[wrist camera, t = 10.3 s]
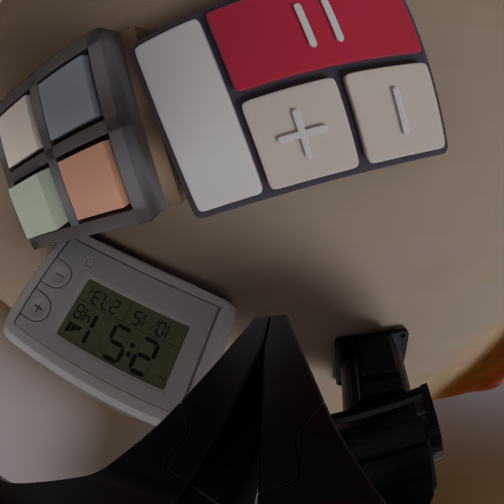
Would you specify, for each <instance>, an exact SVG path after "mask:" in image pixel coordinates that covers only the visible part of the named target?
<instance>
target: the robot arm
mask: <svg viewBox="0 0 504 504" xmlns="http://www.w3.org/2000/svg"><path fill="white" fill-rule="evenodd" d="M408 335H409V334H408V331H407V329H405V328H402V329H396V330H390V331H384V332H378V333H371V334H364V335H357V336H349V337H341V338H337V339H336V340H335V342H334V343H335V361H336V382H337V385H342V398H343V411H342V412H338V413H334V414H330V413H329V410H328V408H327V406H326V404H325V403H324V399H323V397H322V395H321V392H320V390H319V388H318V385H317V383H316V381H315V379H314V376H313V374H312V372H311V369H310V367H309V365H308V363H307V360H306V358H305V356H304V353H303V351H302V349H301V347H300V344H299V342H298V340H297V337H296V335H295V333H294V331H293V328H292V326H291V324H290V322H289V319H288V317H287V315H285V314H283V315H273V316H272V317H270V316H260V317H256V318H255V319H254V320H253V321H252V322H251V323H250V324H249V326H248V327H247V328H246V329H245V330H244V331H243V333H242V334H241V335H240V336H239V337H238V338H237V339H236V341H235V342H234V343H233V344H232V345H231V346H230V347H229V349H228V350H227V351H226V352H225V353H224V354H223V355H222V357H221V358H220V359H219V360H218V361H217V362H216V363H215V364H214V366H213V367H212V368H211V369H210V370H209V371H208V372H207V373H206V374H205V376H204V377H203V378H202V379H201V380H200V381H199V382H198V383H197V384H196V385H195V386H194V388H193V389H192V390H191V391H190V392H189V393H188V394H187V395H186V396H185V397H184V398H183V399H182V401H181V403H182V404H181V403H179V404H178V405H177V406H176V407H175V408H174V409H173V410H172V411H171V412H170V413H169V414H168V415H167V416H166V417H165V418H164V419H163V420H162V421H161V422H160V423H159V424H158V425H157V426H156V427H155V428H154V429H153V430H151V431H150V432H149V433H148V434H147V435H146V436H145V437H143V438H142V439H141V440H140V441H139V442H137V443H136V444H135V445H134V446H132V447H131V448H130V449H129V450H127V451H126V452H125V453H124V454H122V455H121V456H120V457H119V458H117V459H116V460H115V461H114V462H112V463H111V464H109V465H108V466H107V467H105V468H103V469H102V470H100V471H98V472H96V473H94V474H91V475H87V476H83V477H77V478H70V479H63V480H55V481H46V482H36V483H11V482H9V481H8V480H6V479H5V478H3V477H2V476H0V504H254V503H255V498H256V493H257V489H258V493H259V495H258V503H257V504H430V503H431V500H432V498H433V496H434V492H435V490H436V487H437V482H436V474H435V466H434V461H435V460H438V459H441V458H443V457H444V455H443V446H442V439H441V433H440V429H439V425H438V420H437V416H436V412H435V409H434V405H433V402H432V399H431V395H430V392H429V389H428V386H427V383H425V384H422V385H420V387H418V388H415V389H412V390H411V389H410V385H409V381H408V377H407V373H406V369H405V365H404V358H405V353H406V347H407V341H408ZM339 343H341V344H339Z"/></svg>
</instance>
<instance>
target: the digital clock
mask: <svg viewBox="0 0 504 504" xmlns="http://www.w3.org/2000/svg"><path fill="white" fill-rule="evenodd" d="M235 316H236V310H235V307H234V306H233V305H232V304H231V303H230V302H228V301H226V300H224V299H222V298H220V297H218V296H216V295H213V294H211V293H209V292H207V291H205V290H202V289H200V288H198V286H196V285H194V284H192V283H189V282H187V281H185V280H183V279H180V278H178V277H176V276H174V275H172V274H169V273H167V272H165V271H163V270H161V269H158V268H156V267H154V266H152V265H150V264H148V263H145V262H143V261H141V260H139V259H137V258H135V257H133V256H131V255H129V254H126V253H124V252H122V251H120V250H118V249H116V248H114V247H112V246H110V245H108V244H106V243H104V242H103V243H102V242H100V241H97V240H95V239H93V238H91V237H89V236H85V237H81V238H77V239H73V240H69V241H65V242H61V243H57V244H55V246H54V247H53V248H52V250H51V251H50V252H49V254H48V255H47V256H46V258H45V259H44V261H43V262H42V263H41V265H40V266H39V268H38V269H37V270H36V272H35V273H34V275H33V276H32V278H31V279H30V281H29V282H28V284H27V285H26V287H25V288H24V290H23V291H22V293H21V295H20V296H19V298H18V299H17V301H16V303H15V304H14V306H13V307H12V309H11V311H10V313H9V315H8V316H7V318H6V321H5V323H4V325H3V332H4V334H5V336H6V337H7V338H8V339H9V340H10V341H11V342H12V343H14V344H15V345H16V346H18V347H19V348H20V349H22V350H23V351H24V352H26V353H27V354H28V355H30V356H31V357H32V358H34V359H35V360H37V361H38V362H37V363H38V364H39V365H40V366H42V367H43V368H45V369H46V370H48V371H49V372H51V373H52V374H54V375H55V376H57V377H58V378H60V379H61V380H63V381H65V382H66V383H68V384H69V385H71V386H73V387H75V388H76V389H78V390H80V391H81V392H83V393H85V394H86V395H88V396H90V397H92V398H94V399H95V400H97V401H99V402H101V403H103V404H105V405H107V406H109V407H111V408H113V409H115V410H117V411H119V412H121V413H123V414H125V415H127V416H129V417H131V418H132V417H133V416H134V417H136V418H139V419H141V420H143V421H146V422H148V423H150V424H152V425H155V426H157V425H158V424H159V423H160V422H161V421H162V420H163V419H164V418H165V417H166V416H167V415H168V414H169V413H170V412H171V411H172V410H173V409H174V408H175V407H176V406H177V405H178V404H179V403H181V401H182V399H183V398H184V397H185V396H186V395H187V394H188V393H189V392H190V391H191V390H192V389H193V388H194V386H195V385H196V384H197V383H198V382H199V381H200V380H201V379H202V378H203V377H204V376H205V374H206V373H207V372H208V371H209V370H210V369H211V368H212V367H213V366H214V364H215V363H216V362H217V361H218V360H219V359H220V358H221V357H222V355H223V352H224V349H225V346H226V344H227V341H228V338H229V335H230V332H231V329H232V326H233V324H234V320H235ZM181 404H182V403H181Z"/></svg>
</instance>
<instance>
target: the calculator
mask: <svg viewBox="0 0 504 504" xmlns="http://www.w3.org/2000/svg"><path fill="white" fill-rule="evenodd" d="M130 55H131V58H132V61H133V63H134V66H135V69H136V71H137V74H138V77H139V79H140V82H141V85H142V87H143V90H144V93H145V95H146V98H147V100H148V103H149V106H150V108H151V111H152V113H153V116H154V118H155V121H156V123H157V126H158V128H159V131H160V133H161V136H162V138H163V141H164V143H165V146H166V148H167V151H168V153H169V156H170V158H171V160H172V163H173V165H174V168H175V170H176V173H177V175H178V177H179V180H180V182H181V184H182V187H183V189H184V191H185V194H186V196H187V199H188V201H189V203H190V205H191V208H192V210H193V212H194V214H195V215H196V216H197V217H199V218H205V217H208V216H211V215H215V214H218V213H221V212H224V211H227V210H231V209H234V208H237V207H240V206H244V205H247V204H250V203H253V202H257V201H260V200H264V199H267V198H270V197H274V196H277V195H281V194H284V193H288V192H291V191H295V190H298V189H302V188H306V187H309V186H313V185H316V184H320V183H324V182H328V181H331V180H335V179H339V178H343V177H347V176H351V175H354V174H358V173H362V172H366V171H370V170H374V169H379V168H383V167H387V166H391V165H395V164H400V163H404V162H408V161H413V160H417V159H422V158H426V157H431V156H435V155H440V154H443V153H445V152H446V151H447V147H448V145H447V138H446V132H445V127H444V122H443V117H442V112H441V107H440V103H439V99H438V95H437V91H436V87H435V83H434V79H433V76H432V72H431V69H430V66H429V62H428V59H427V56H426V53H425V50H424V47H423V44H422V41H421V38H420V36H419V33H418V30H417V28H416V25H415V23H414V20H413V18H412V15H411V13H410V10H409V8H408V6H407V4H406V1H405V0H229V1H226V2H223V3H220V4H218V5H215V6H212V7H210V8H207V9H205V10H202V11H200V12H197V13H195V14H192V15H190V16H188V17H185V18H183V19H181V20H179V21H177V22H174V23H172V24H170V25H168V26H166V27H164V28H162V29H160V30H158V31H156V32H154V33H152V34H150V35H148V36H146V37H145V38H143V39H141V40H139V41H137V42H136V43H134V44H133V45H132V46H131V48H130Z"/></svg>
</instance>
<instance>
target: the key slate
mask: <svg viewBox="0 0 504 504" xmlns="http://www.w3.org/2000/svg"><path fill="white" fill-rule="evenodd" d="M38 90H39V95H40V99H41V104H42V108H43V113H44V117H45V121H46V125H47V129H48V132H49V136H50V140H51V141H53V140H56V139H59V138H62V137H65V136H68V135H71V134H74V133H76V132H77V131H79V130H81V129H83V128H85V127H87V126H89V125H91V124H93V123H95V122H97V121H100V120H102V119H104V116H103V112H102V109H101V105H100V101H99V97H98V93H97V89H96V84H95V80H94V76H93V71H92V66H91V62H90V57H89V55H80V56H79V57H77V58H76V59H74V60H73V61H71V62H70V63H68V64H67V65H65V66H64V67H62V68H61V69H59V70H58V71H56V72H55V73H54V74H52V75H51V76H49V77H48V78H47V79H45V80H44V81H43V82H41V83H40V84H39V85H38Z"/></svg>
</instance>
